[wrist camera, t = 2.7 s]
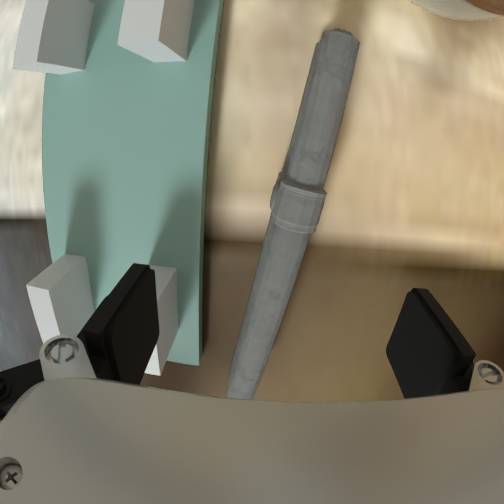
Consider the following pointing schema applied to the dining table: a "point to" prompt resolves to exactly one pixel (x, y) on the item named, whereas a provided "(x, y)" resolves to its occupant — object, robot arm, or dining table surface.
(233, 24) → the dining table surface
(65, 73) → the jaw cradle
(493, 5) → the lidded jar
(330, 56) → the metal rod assembly
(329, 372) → the dining table surface
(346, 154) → the dining table surface
